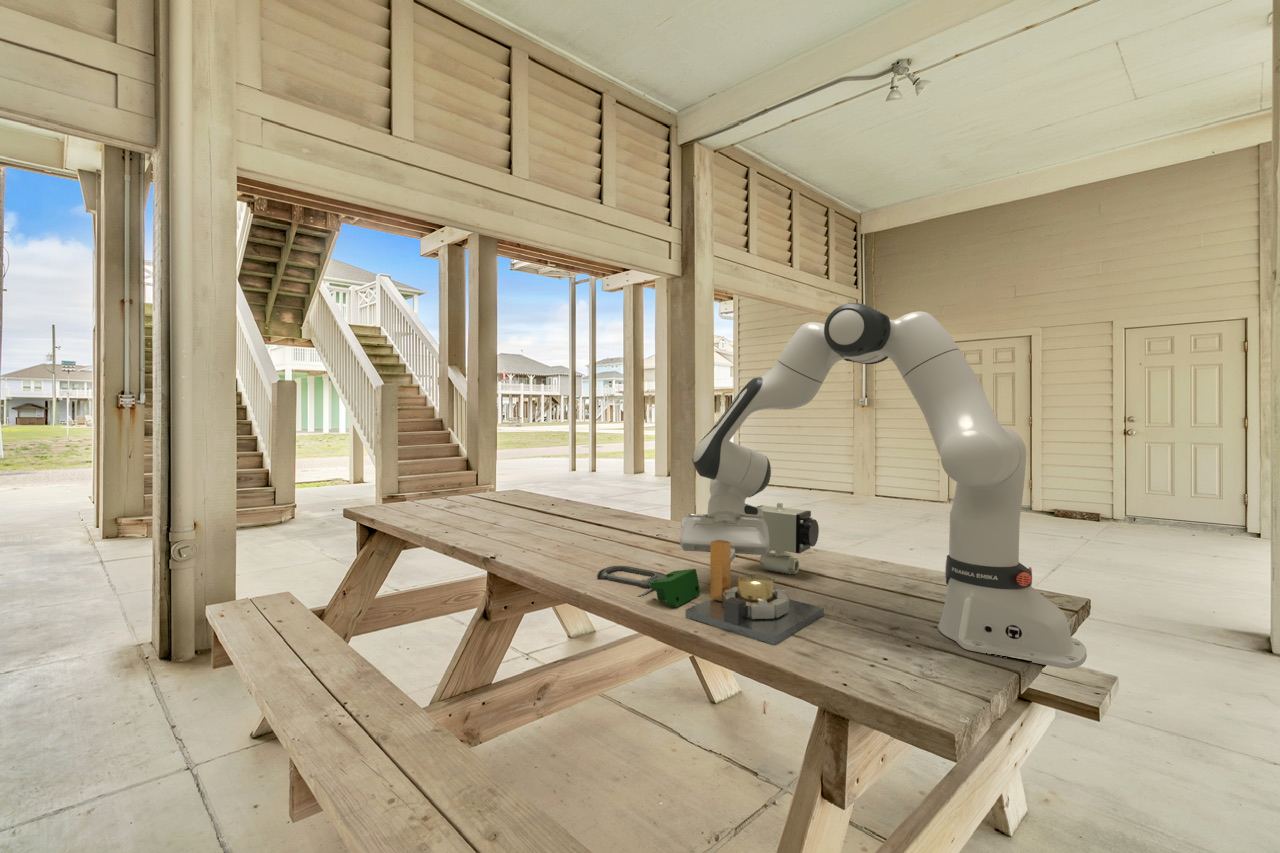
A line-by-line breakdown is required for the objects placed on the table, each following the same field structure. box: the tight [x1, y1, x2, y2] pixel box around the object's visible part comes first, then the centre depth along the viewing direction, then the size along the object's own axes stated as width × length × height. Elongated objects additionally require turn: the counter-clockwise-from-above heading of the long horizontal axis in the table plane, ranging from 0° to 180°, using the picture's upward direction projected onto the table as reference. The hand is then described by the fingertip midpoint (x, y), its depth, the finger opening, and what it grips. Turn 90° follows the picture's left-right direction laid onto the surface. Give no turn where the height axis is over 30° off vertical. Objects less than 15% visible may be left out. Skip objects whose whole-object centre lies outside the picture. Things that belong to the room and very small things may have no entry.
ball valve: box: [756, 502, 820, 575], centre depth 148 cm, size 18×8×18 cm, turn 52°
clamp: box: [649, 568, 701, 608], centre depth 126 cm, size 12×6×9 cm, turn 140°
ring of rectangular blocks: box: [709, 540, 790, 619], centre depth 117 cm, size 16×12×12 cm
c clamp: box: [596, 565, 667, 598], centre depth 140 cm, size 20×17×3 cm
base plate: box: [684, 573, 825, 646], centre depth 116 cm, size 20×20×8 cm
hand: (722, 567), depth 127 cm, fingers closed
